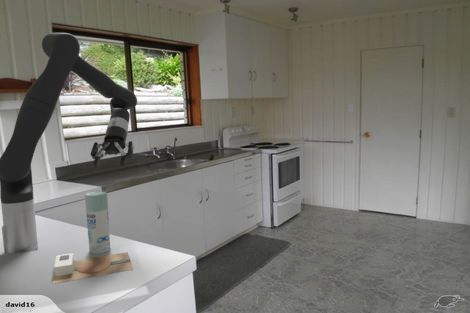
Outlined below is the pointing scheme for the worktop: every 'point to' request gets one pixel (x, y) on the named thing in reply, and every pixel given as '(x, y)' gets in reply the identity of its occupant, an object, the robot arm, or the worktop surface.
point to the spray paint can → (97, 222)
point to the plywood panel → (97, 267)
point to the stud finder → (64, 264)
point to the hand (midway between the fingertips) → (109, 166)
